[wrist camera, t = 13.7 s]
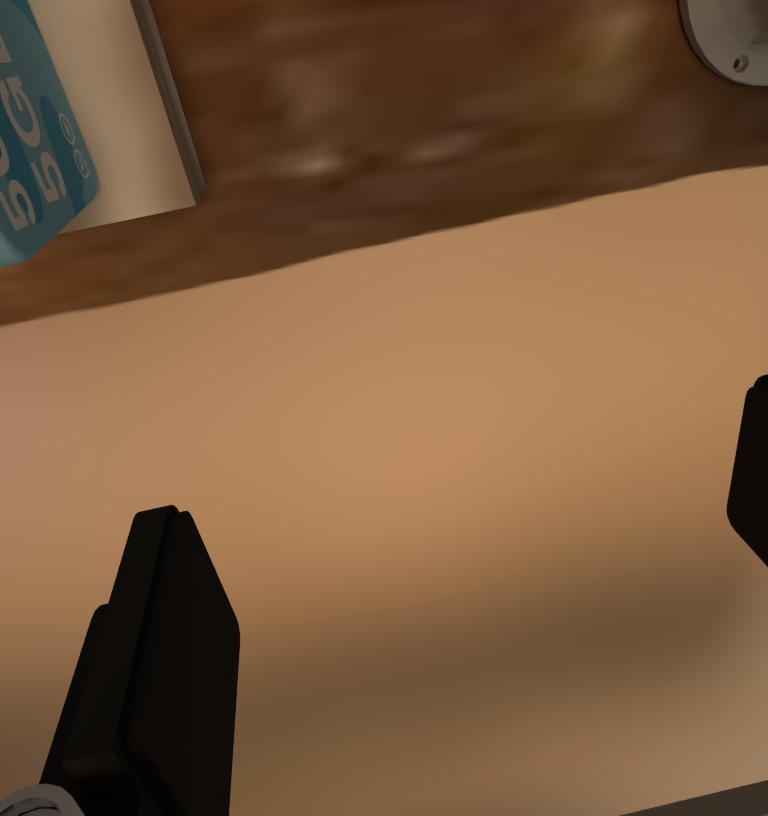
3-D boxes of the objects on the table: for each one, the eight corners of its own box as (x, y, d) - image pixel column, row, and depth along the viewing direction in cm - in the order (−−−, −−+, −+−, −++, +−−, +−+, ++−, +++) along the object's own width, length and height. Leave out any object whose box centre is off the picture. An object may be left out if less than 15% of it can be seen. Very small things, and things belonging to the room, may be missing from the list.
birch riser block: (97, -165, 28) (65, -199, 23) (205, 184, 36) (196, 205, 31) (-201, -109, 27) (-289, -134, 23) (-24, 231, 35) (-65, 259, 31)
